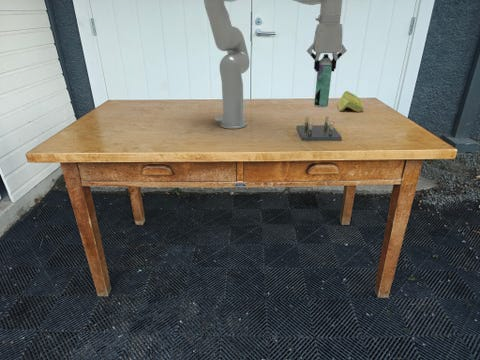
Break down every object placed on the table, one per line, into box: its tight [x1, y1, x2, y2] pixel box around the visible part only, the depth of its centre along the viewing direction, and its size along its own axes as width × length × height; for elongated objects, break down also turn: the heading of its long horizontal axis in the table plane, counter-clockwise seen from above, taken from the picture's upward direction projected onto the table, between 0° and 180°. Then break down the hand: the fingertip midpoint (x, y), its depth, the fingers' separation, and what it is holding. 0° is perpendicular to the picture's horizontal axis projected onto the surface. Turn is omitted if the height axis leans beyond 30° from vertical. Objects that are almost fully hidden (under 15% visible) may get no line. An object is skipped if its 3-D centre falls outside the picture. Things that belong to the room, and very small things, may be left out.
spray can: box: [313, 53, 333, 108], centre depth 128 cm, size 6×6×20 cm
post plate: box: [296, 115, 343, 142], centre depth 136 cm, size 16×16×6 cm
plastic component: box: [337, 90, 364, 113], centre depth 176 cm, size 20×7×10 cm
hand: (324, 70), depth 126 cm, fingers closed on spray can, 5 cm apart
